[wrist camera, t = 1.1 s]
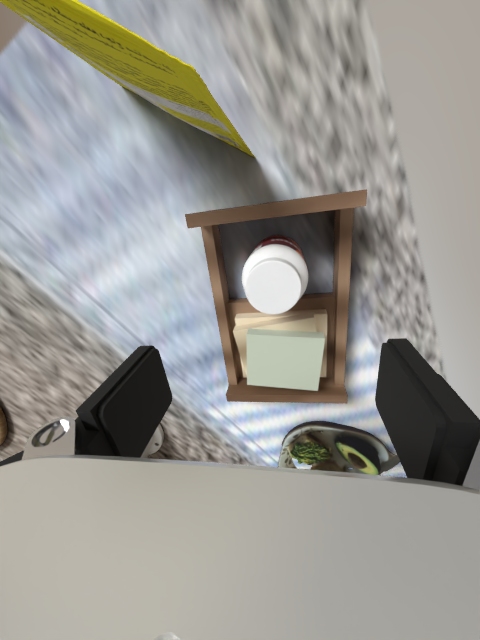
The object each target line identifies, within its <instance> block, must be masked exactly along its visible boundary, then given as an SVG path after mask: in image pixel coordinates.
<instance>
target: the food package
mask: <svg viewBox="0 0 480 640" xmlns="http://www.w3.org/2000/svg"><path fill="white" fill-rule="evenodd" d="M0 2H1V3H3V4H4V5H6V6H7V7H8V8H10V9H11V10H12V11H14V12H15V13H17V14H18V15H20V16H21V17H23V18H24V19H25V20H27V21H28V22H30V23H31V24H33V25H34V26H35V27H37V28H38V29H40V30H41V31H43V32H44V33H46V34H47V35H48V36H50V37H51V38H53V39H54V40H56V41H57V42H58V43H60V44H61V45H63V46H64V47H66V48H67V49H68V50H70V51H71V52H73V53H74V54H76V55H77V56H79V57H80V58H81V59H83V60H84V61H86V62H87V63H88V64H90V65H91V66H93V67H94V68H96V69H97V70H98V71H100V72H101V73H103V74H104V75H106V76H107V77H109V78H110V79H112V80H114V81H115V82H117V83H118V84H119V85H120V86H123V87H124V88H127V89H128V90H130V91H132V92H134V93H136V94H138V95H139V96H141V97H143V98H144V99H146V100H147V101H149V102H151V103H152V104H154V105H155V106H157V107H159V108H160V109H162V110H164V111H166V112H167V113H169V114H171V115H173V116H175V117H176V118H178V119H180V120H182V121H184V122H186V123H188V124H190V125H192V126H194V127H196V128H198V129H200V130H202V131H204V132H206V133H208V134H210V135H212V136H214V137H216V138H218V139H220V140H222V141H224V142H226V143H228V144H230V145H232V146H234V147H236V148H238V149H240V150H241V151H243V152H245V153H247V154H249V155H250V156H252V157H254V158H255V156H254V155H253V154H252V153H251V151H250V150H249V148H248V147H247V145H246V144H245V142H244V141H243V139H242V138H241V137H240V135H239V134H238V132H237V131H236V129H235V128H234V126H233V125H232V124H231V122H230V121H229V119H228V118H227V116H226V115H225V114H224V112H223V111H222V109H221V108H220V107H219V105H218V104H217V102H216V101H215V99H214V98H213V96H212V95H211V93H210V92H209V90H208V88H207V86H206V84H205V83H204V82H203V80H202V79H201V78H200V75H199V74H198V73H197V72H196V70H195V69H194V68H193V67H192V66H191V65H188V64H186V63H183V62H182V61H181V60H179V59H178V58H176V57H173V56H171V55H169V54H168V53H166V52H165V51H163V50H160V49H158V48H157V47H155V46H154V45H152V44H151V43H149V42H148V41H146V40H144V39H143V38H141V37H140V36H138V35H136V34H135V33H133V32H131V31H130V30H128V29H126V28H124V27H123V26H121V25H119V24H117V23H116V22H114V21H112V20H110V19H109V18H107V17H105V16H104V15H102V14H100V13H98V12H97V11H95V10H93V9H91V8H90V7H88V6H86V5H84V4H82V3H81V2H79V1H77V0H0Z"/></svg>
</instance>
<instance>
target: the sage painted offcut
mask: <svg viewBox="0 0 480 640" xmlns="http://www.w3.org/2000/svg"><path fill="white" fill-rule="evenodd" d="M246 342H247V385H256V386H267V387H278V388H290V389H301V390H313V391H318V386H319V379H320V372H321V365H322V358H323V350H324V343H325V337H324V333H323V332H309V331H290V330H271V329H252V328H248V330H247V334H246Z"/></svg>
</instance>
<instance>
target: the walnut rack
mask: <svg viewBox="0 0 480 640" xmlns="http://www.w3.org/2000/svg"><path fill="white" fill-rule="evenodd" d="M366 198H367V190H360V191H352V192H344V193H337V194H330V195H322V196H315V197H308V198H301V199H293V200H286V201H279V202H271V203H264V204H257V205H250V206H242V207H235V208H228V209H220V210H213V211H206V212H199V213H192V214H185V217H186V222H187V227H188V228H194V227H201V230H202V236H203V241H204V247H205V253H206V258H207V264H208V270H209V275H210V281H211V286H212V292H213V298H214V303H215V309H216V315H217V320H218V326H219V331H220V337H221V343H222V348H223V354H224V359H225V365H226V371H227V376H228V382H229V387H228V390H227V393H226V396H227V401H240V402H302V403H347V397H348V396H347V392H346V389H345V386H344V379H345V361H346V342H347V324H348V305H349V287H350V269H351V250H352V232H353V213H354V207H361V206H366ZM329 210H335V231H334V269H333V293H320V294H305V295H302V296H301V298H300V299H299V300H298V301H297V303H296V304H295V305H294V306H293V307H292V308H291V309H289V310H288V311H298V310H317V309H326V312H327V366H326V377H320V379H319V386H318V391H313V390H301V389H290V388H278V387H267V386H256V385H247V377H243V371H242V364H241V358H240V353H239V350H238V346H237V343H236V340H235V337H234V334H233V330H234V327H235V326H236V323H235V317H236V315H237V314H242V313H261V312H260V311H258V310H257V309H255V308H254V307H253V306H252V305H251V304H250V302H249V301H248V299H247V298H243V299H229V292H228V286H227V279H226V272H225V266H224V259H223V252H222V246H221V239H220V233H219V226H218V224H226V223H234V222H242V221H250V220H258V219H266V218H274V217H282V216H289V215H297V214H305V213H313V212H321V211H329Z"/></svg>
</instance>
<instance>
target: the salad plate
mask: <svg viewBox="0 0 480 640" xmlns="http://www.w3.org/2000/svg"><path fill="white" fill-rule="evenodd" d="M292 458H295V459H297V460H298V463H299V464H301V463H302V462H304V463H306V464H308V465H312V467H311V469H310V470H321V471H335V472H348V473H359V474H370V475H379V474H381V473H382V472H384V471H388V470H389V469H391V468H393V467H394V466H395V465H397V464H398V463H399V462H400V459H399V457H398V455H394V454H392V453H391V452H389V451H388V450H387V448H386V447H385V446H384V444H383V443H382V442H381V441H380V440H378V439H377V438H376V437H374V436H373V435H371V434H370V433H368V432H366V431H363V430H360V429H357V428H354V427H350V426H345V425H341V424H337V423H332V422H326V421H311V422H306V423H303V424H300V425H298V426H296V427H294V428H293V429H292V430H290V431H289V432H288V434H287V435H286V436H285V438H284V440H283V442H282V450H281V454H280V457H279V462H278V467H282V468H295V469H297V468H296V467H295V465H294V463H293V461H292ZM349 467H351V468H353V469H348V468H349Z"/></svg>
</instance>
